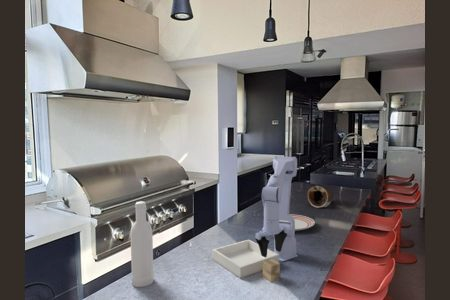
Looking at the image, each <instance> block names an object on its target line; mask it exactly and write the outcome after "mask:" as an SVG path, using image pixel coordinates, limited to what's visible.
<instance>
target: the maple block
mask: <svg viewBox="0 0 450 300" xmlns="http://www.w3.org/2000/svg"><path fill="white" fill-rule="evenodd" d="M280 270H281V263H280V262H279V263H278V262H276V261H274V260H272V259H271V260H268V261H265V262H263V271H262V278H263V279H265V280H266V281H268V282H269V283H273V282H275V281H277V280H280V277H281V276H280V273H281V271H280Z"/></svg>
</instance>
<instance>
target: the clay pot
mask: <svg viewBox="0 0 450 300" xmlns="http://www.w3.org/2000/svg"><path fill="white" fill-rule="evenodd" d="M307 199H308V202H309V204H310V206H312V207H314V208H319V209H320V208H327V207H328V206H329V205H330V204H331V203H332V201H333V199H334V193H333V192H332V190H331V189H330V188H328V187H326V186H324V185H314V186H312V187H310V188H309V189H308V191H307ZM322 200H323V201H322Z"/></svg>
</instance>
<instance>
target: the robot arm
mask: <svg viewBox="0 0 450 300" xmlns="http://www.w3.org/2000/svg"><path fill="white" fill-rule="evenodd" d="M272 168H273V170H274V173H273V174H272V175H270V177H269V179H268V181H267V184H266V186H264V187H262V190H261V201H262V206H263V227H262V229H261V230H260V231H258V232H255V237H254V238H255V241H256V243H257V244H258V245H259V248H260V251H261V256H263V257H267V249H269V243H270V240H268V239H267V237H270V236H273V238H274V239H273V243H274V244H273V246H274V247H273V248H274V249H273V252H275V253H277V254H279V262H280V261H281V262H285V261H289V260H291V259H294V258H297V257H298V254H297V239H296V237H295V232H296V231H295V221H294V219H293V218H292V217H291V216H290V215H289V214H290V203H291V190H292V189H291V187H292V186H291V185H292V180H293V178H294V177H297V172H298V158H297V157H296V156H276V155H275V156H274V157H273V158H272ZM279 220H283V221H289V222H290V223H289V222H281V221H279Z"/></svg>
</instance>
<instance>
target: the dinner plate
mask: <svg viewBox="0 0 450 300" xmlns="http://www.w3.org/2000/svg"><path fill="white" fill-rule="evenodd" d="M289 215H290V216H291V217H292V218H293V219H294V221H295V232H297V231H298V232H299V231H304V230H308V229H310V228H312V227H314V225H315V224H316V221H315V220H314V219H313V218H311V217H308V216H305V215H300V214H290V213H289ZM279 221H281V222H289V221H283V220H279ZM289 223H290V222H289Z"/></svg>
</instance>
